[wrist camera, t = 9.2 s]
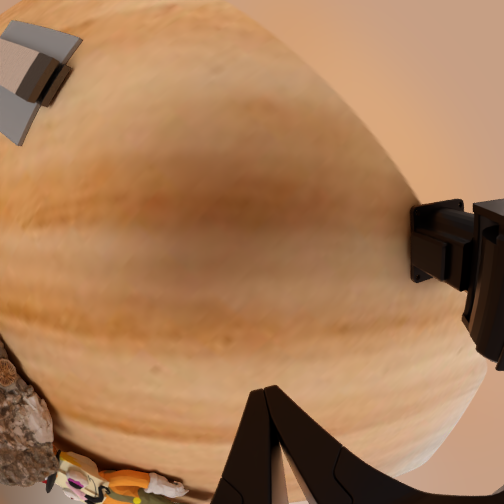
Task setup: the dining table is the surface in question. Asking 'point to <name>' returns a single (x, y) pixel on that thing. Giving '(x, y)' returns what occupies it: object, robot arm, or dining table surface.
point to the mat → (41, 40)
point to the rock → (23, 430)
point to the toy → (109, 483)
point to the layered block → (30, 73)
